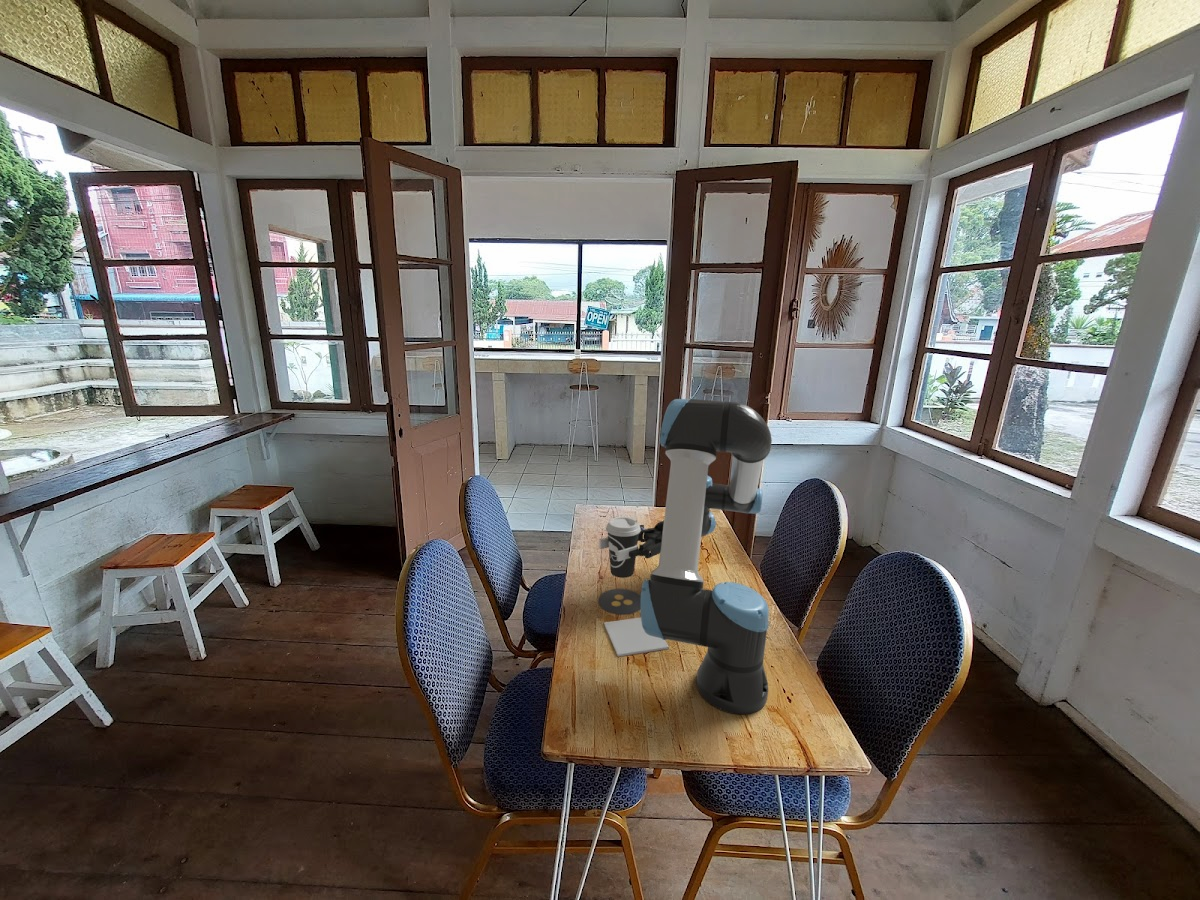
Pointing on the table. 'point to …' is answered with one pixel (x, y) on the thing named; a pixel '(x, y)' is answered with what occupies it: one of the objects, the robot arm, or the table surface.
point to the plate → (632, 637)
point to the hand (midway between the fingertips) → (608, 550)
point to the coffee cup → (622, 544)
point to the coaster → (620, 601)
